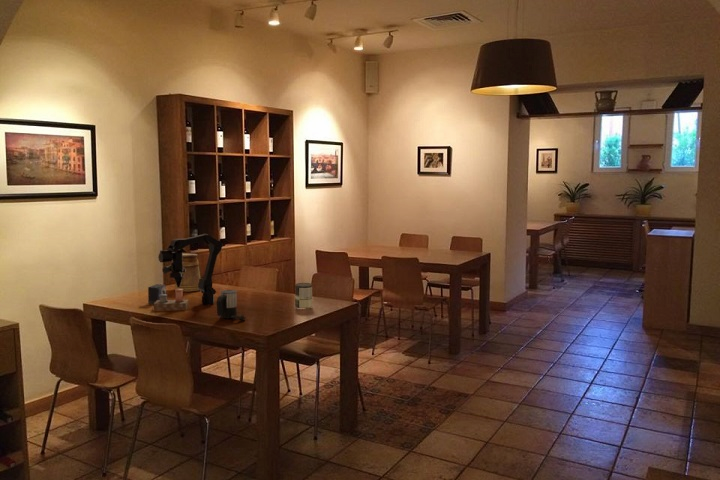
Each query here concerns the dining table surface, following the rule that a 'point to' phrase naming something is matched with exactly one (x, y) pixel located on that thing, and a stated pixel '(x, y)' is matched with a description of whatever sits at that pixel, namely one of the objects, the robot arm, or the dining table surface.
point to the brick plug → (179, 295)
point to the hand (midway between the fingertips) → (178, 286)
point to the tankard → (190, 273)
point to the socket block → (170, 305)
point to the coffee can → (303, 295)
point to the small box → (155, 292)
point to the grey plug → (163, 298)
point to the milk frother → (228, 305)
